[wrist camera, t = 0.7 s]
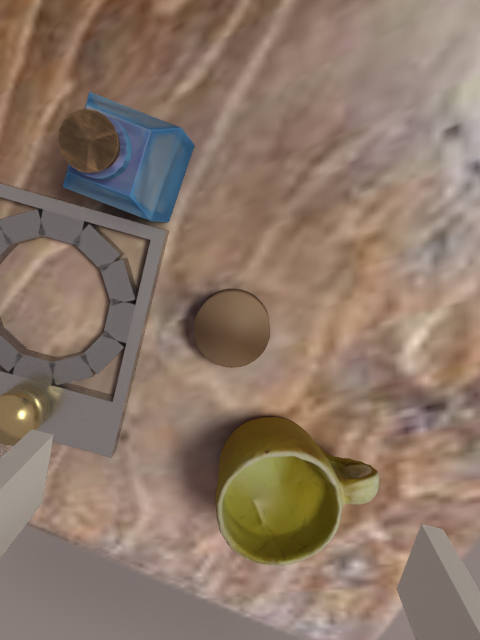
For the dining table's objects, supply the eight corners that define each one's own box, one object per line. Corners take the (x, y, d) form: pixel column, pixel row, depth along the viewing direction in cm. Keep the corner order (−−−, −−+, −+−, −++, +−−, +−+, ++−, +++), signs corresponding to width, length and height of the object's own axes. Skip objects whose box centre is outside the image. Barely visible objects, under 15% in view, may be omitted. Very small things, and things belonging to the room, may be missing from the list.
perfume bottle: (95, 193, 36) (16, 177, 24) (119, 115, 35) (47, 57, 23) (168, 222, 36) (126, 219, 24) (194, 145, 35) (162, 103, 23)
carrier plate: (-26, 175, 36) (-63, 168, 32) (169, 230, 36) (157, 231, 32) (-60, 402, 40) (-96, 422, 36) (115, 450, 40) (99, 476, 36)
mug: (204, 532, 39) (218, 586, 30) (207, 413, 40) (221, 427, 31) (337, 526, 41) (391, 575, 32) (336, 413, 43) (388, 426, 33)
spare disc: (207, 279, 37) (204, 283, 35) (278, 299, 37) (279, 304, 35) (189, 347, 38) (185, 355, 36) (257, 366, 38) (257, 376, 36)
